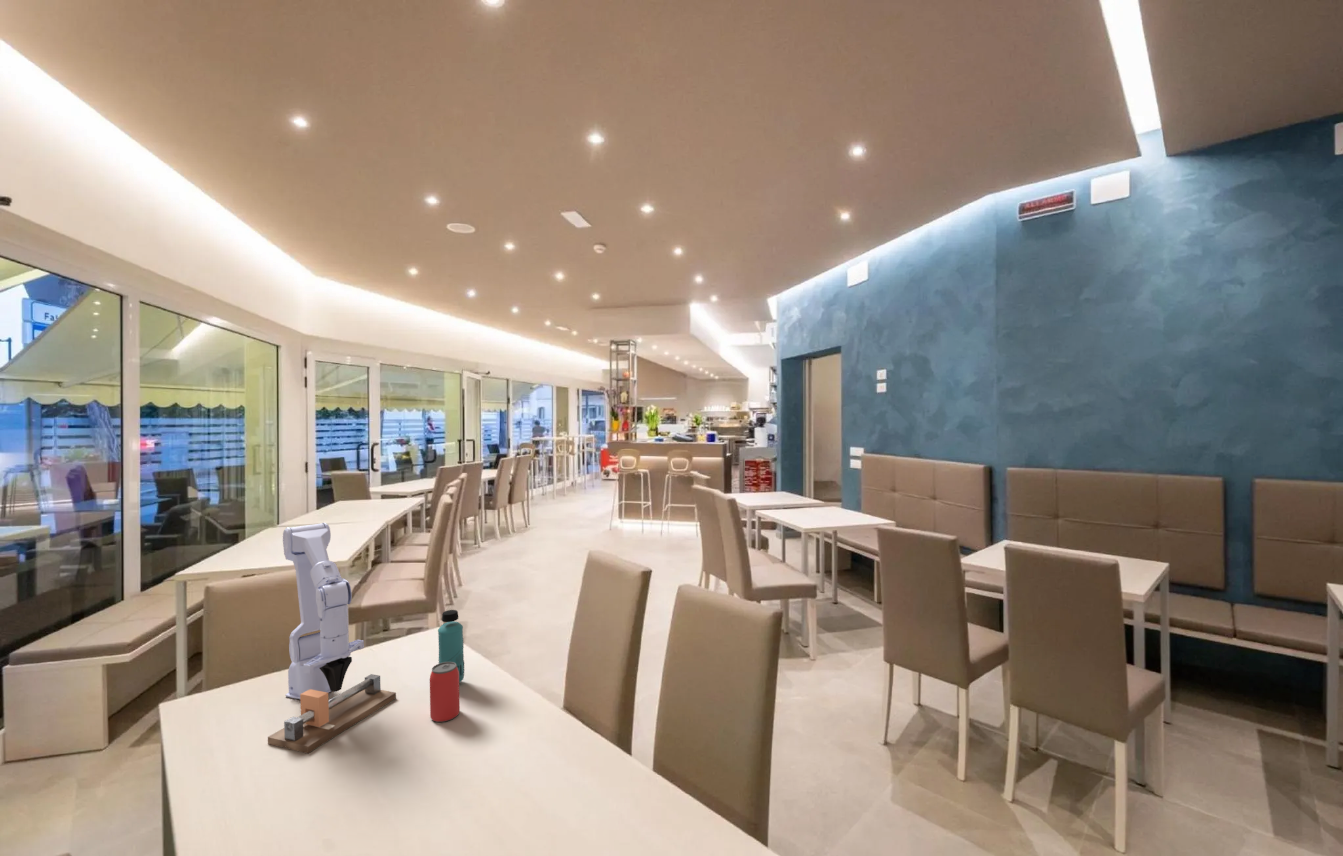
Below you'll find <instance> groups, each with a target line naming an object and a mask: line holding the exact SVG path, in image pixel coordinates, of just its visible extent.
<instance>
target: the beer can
mask: <svg viewBox="0 0 1343 856" xmlns="http://www.w3.org/2000/svg"><path fill="white" fill-rule="evenodd" d="M429 676H430V677H429V701H430V702H429V707H430V708H429V709H430V710H429V711H430V715H429V716H430V718H431V720H432V721H433V722H436V723H444V722H445V723H446V722H448V721H452V720H453V719H455V718H457V716H458V715H459V714H460V709H461V706H460V703H461V701H460V682H459V671H458V668H457V664H456V663H454V662H443V663H437V664H435V665H434V666H433V667H432V668H431V673H430V675H429Z"/></svg>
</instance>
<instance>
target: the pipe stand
mask: <svg viewBox="0 0 1343 856" xmlns="http://www.w3.org/2000/svg"><path fill="white" fill-rule="evenodd" d="M363 690H365V693H368V694H373V695H375V694H376V693H378V692H380V691H381V690H382V688H381V675H378V674H373V673H370V674H369V675H366V676H365V677H364V680H363V681H361V682H359V683H357V684H355V685H354V686H352V687H350V688H348V689H346V690H345V691H343V692H341V693H339V694H337V695H336V696H334V697H331V698H330V699H328V703H329V709H331V708H333V707H335V706H336V705H338V704H340V703H342V702H343V701H345V700H347V699H349V698H351V697H352V696H354V695H356V694H358V693H359V692H361V691H363ZM312 719H314V710H310V711H308V712H306V713H304V714H302V715H301V714H300V715H299V716H297V717H296V716H292V717H290V718H288V719H286V720H284V723H283V724H284V725H283V728H284V733H285V739H286V740H290V741H294V742H295V741H297V740H298V739H300V738H302V737H303V724H305V723H306V722H308V721H310V720H312Z"/></svg>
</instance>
